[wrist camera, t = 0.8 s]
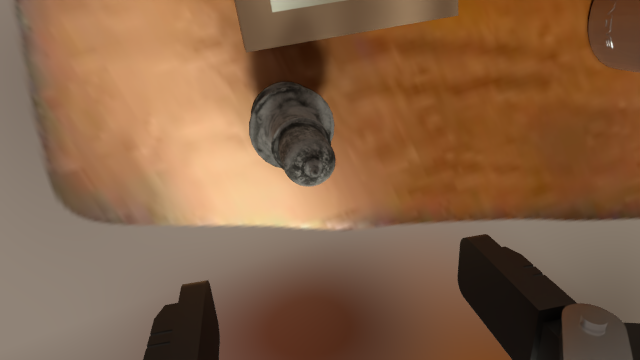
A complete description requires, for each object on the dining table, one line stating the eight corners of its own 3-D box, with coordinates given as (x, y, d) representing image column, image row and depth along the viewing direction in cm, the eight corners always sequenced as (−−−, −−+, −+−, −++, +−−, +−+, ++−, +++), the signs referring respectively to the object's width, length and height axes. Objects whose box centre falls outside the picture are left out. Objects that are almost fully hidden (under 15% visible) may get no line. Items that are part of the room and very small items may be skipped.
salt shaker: (241, 81, 30) (248, 124, 19) (321, 73, 31) (371, 109, 20) (252, 157, 32) (264, 234, 21) (326, 148, 33) (373, 217, 22)
